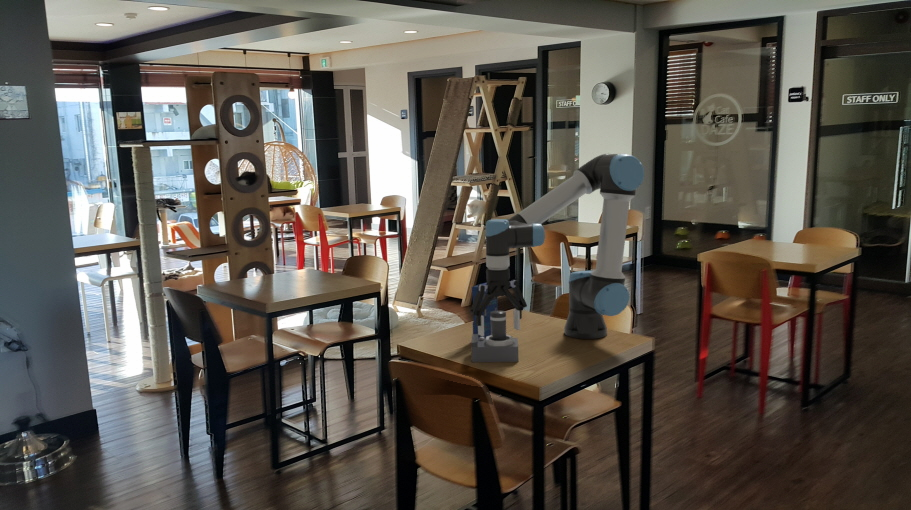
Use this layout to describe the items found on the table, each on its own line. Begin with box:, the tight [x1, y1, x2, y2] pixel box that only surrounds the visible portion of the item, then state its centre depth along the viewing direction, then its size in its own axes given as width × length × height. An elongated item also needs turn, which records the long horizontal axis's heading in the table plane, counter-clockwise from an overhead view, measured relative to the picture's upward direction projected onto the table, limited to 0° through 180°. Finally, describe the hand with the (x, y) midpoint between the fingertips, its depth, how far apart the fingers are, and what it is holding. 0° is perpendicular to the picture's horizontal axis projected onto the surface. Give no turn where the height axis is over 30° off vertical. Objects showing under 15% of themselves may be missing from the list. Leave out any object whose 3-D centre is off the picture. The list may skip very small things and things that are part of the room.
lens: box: [490, 310, 507, 341], centre depth 230 cm, size 5×5×10 cm
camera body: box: [470, 333, 519, 363], centre depth 231 cm, size 15×10×6 cm, turn 86°
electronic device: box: [471, 282, 499, 338], centre depth 251 cm, size 10×5×20 cm, turn 141°
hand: (499, 332), depth 230 cm, fingers open, 13 cm apart
